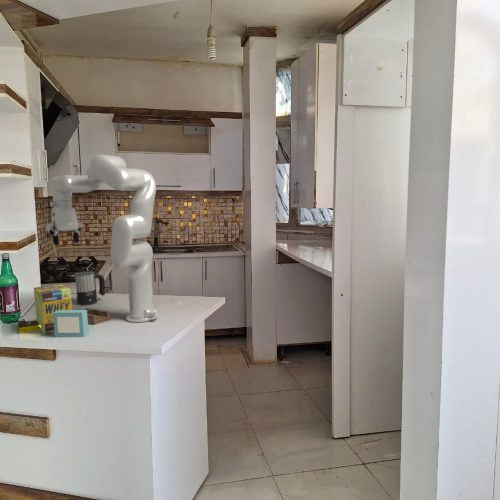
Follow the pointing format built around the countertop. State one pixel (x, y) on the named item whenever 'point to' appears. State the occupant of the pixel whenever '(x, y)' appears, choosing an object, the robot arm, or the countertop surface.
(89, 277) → the milk frother
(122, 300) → the countertop surface
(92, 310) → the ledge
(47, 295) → the protein box
